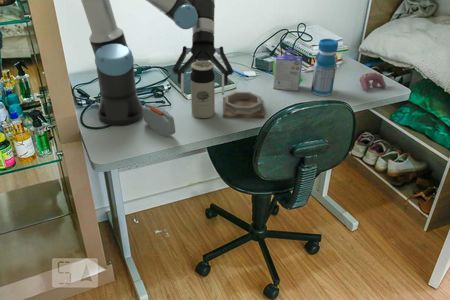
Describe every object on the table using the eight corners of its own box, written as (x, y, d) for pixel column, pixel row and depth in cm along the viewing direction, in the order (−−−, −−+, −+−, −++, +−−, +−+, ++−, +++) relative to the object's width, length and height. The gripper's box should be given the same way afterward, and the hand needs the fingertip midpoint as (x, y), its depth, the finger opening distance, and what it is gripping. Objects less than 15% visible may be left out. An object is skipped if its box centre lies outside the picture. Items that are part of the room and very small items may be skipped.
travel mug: (194, 107, 159) (193, 59, 149) (216, 109, 158) (216, 61, 148) (188, 117, 152) (187, 68, 142) (211, 120, 151) (211, 70, 141)
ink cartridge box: (299, 85, 175) (303, 50, 168) (298, 91, 171) (302, 55, 163) (274, 83, 177) (277, 48, 169) (273, 89, 172) (276, 53, 165)
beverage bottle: (318, 98, 166) (325, 46, 155) (306, 89, 173) (312, 39, 162) (337, 94, 169) (345, 43, 158) (324, 85, 175) (331, 36, 165)
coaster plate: (223, 117, 153) (223, 108, 151) (222, 99, 164) (223, 90, 162) (263, 117, 153) (264, 108, 151) (260, 99, 164) (261, 91, 163)
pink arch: (380, 89, 177) (378, 71, 176) (387, 88, 173) (385, 70, 172) (358, 92, 175) (357, 74, 174) (365, 92, 170) (364, 73, 169)
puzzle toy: (274, 77, 182) (275, 64, 178) (272, 72, 186) (273, 59, 183) (288, 78, 182) (289, 64, 179) (286, 72, 186) (287, 59, 183)
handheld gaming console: (176, 137, 141) (175, 115, 137) (169, 140, 140) (168, 118, 135) (149, 121, 150) (147, 100, 145) (141, 124, 148) (139, 102, 144)
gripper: (239, 40, 157) (239, 97, 152) (168, 39, 156) (166, 96, 152) (240, 30, 149) (240, 90, 145) (165, 29, 149) (163, 89, 144)
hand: (202, 93), depth 148 cm, fingers open, 13 cm apart
